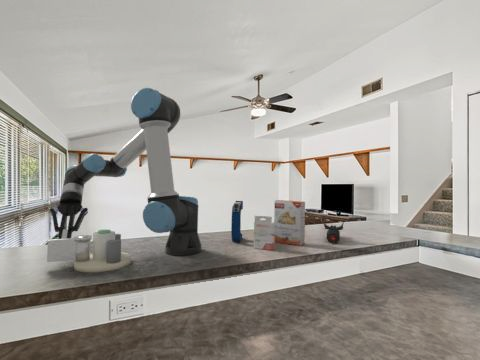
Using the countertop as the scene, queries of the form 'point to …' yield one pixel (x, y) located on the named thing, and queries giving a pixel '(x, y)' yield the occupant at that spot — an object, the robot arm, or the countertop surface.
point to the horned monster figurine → (333, 233)
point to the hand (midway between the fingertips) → (63, 246)
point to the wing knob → (69, 249)
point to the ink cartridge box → (263, 233)
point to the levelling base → (102, 264)
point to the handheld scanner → (236, 221)
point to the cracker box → (289, 222)
